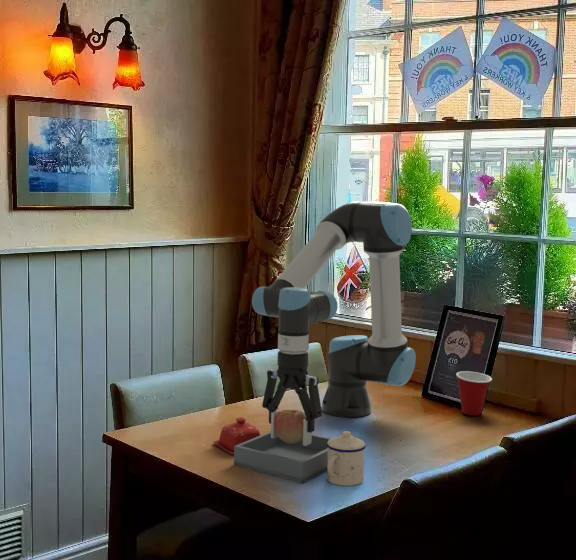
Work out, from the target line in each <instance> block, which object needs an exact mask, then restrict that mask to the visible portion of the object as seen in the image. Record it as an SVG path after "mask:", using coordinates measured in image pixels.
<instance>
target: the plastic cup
mask: <svg viewBox="0 0 576 560" xmlns="http://www.w3.org/2000/svg"><path fill="white" fill-rule="evenodd" d="M455 375H456V378H457V382H458V383H457V384H458V389H459V398H460V399H459V401H460V405H461V412H462V414H464V415H466V416H467V415H468V416H479V415H481V414H482V413H483V409H484V408H483V407H484V404H485V400H486V397H487V392H488V388H489V386H490V383H491V382H492V381H493V378H492V377H491V376H490V375H488V374H485V373H481V372H477V371H469V370H465V371H464V370H463V371H458V372H456V374H455Z"/></svg>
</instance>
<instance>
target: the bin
mask: <svg viewBox="0 0 576 560" xmlns="http://www.w3.org/2000/svg"><path fill="white" fill-rule="evenodd" d="M331 438H332V437H327V436H323V435H317V434H313V433H312V441H311V444H309V445H307V446H303V440H302V441H300V442H297V443H294V444H288V443H286V442H284V441H282V440H281V439H280V438H279V437H276V438H271V430H270V431H268V432H265V433H263V434H260V436H258V437H255V438H253V439H251V440H248V441H246V442H243V443H241V444H238V445H236V446H234V455H233V465H234V466H237V467H242V468H245V469H248V470H251V471H254V472H257V473H260V474H261V473H262V474H265V475H270V476H272V477H276V478H279V479H283V480H286V481H291V482H293V483H297V484H301V485H304V484H305V483H307V482H308V481H311V480H313V479H315V478H317V477H318V476H320V475H322V474H324V473H327V455H328V447H327V442H328V440H329V439H331Z"/></svg>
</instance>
